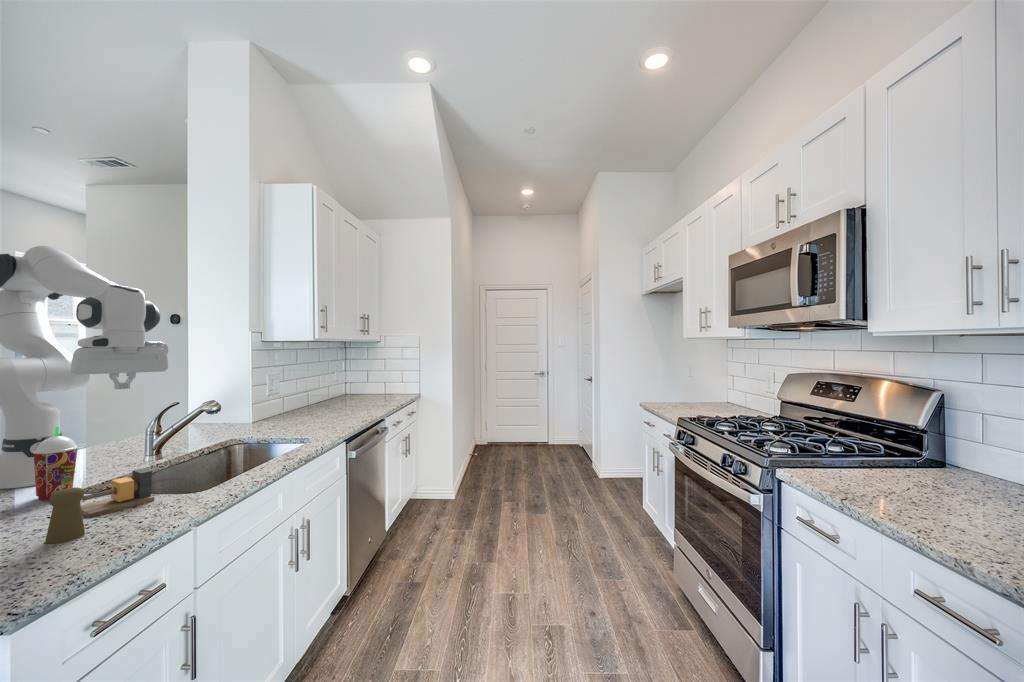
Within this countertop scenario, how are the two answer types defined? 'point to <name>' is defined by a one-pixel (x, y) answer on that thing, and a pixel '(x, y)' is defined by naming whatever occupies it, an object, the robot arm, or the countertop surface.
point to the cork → (65, 516)
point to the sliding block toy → (109, 505)
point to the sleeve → (123, 489)
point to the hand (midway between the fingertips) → (122, 388)
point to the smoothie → (54, 465)
